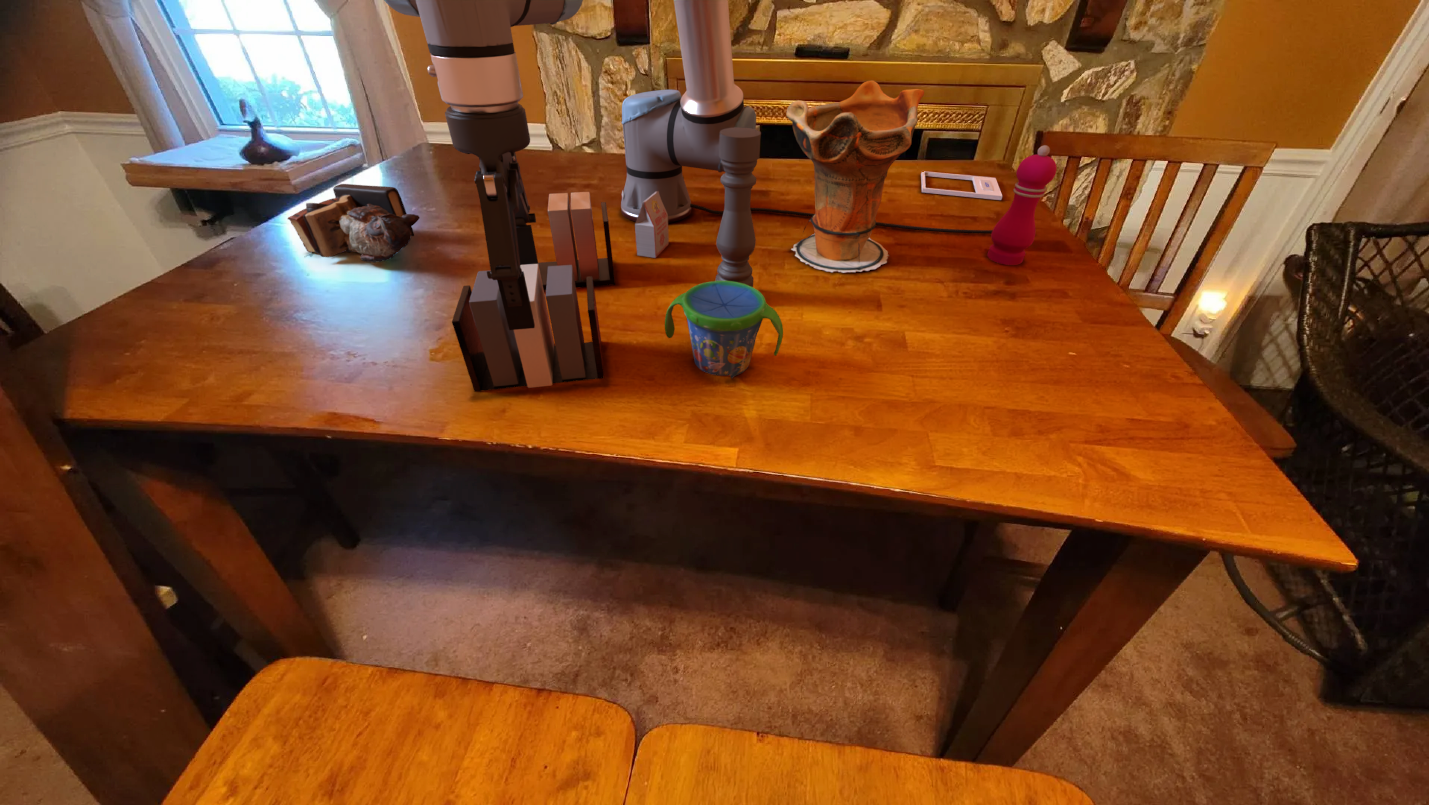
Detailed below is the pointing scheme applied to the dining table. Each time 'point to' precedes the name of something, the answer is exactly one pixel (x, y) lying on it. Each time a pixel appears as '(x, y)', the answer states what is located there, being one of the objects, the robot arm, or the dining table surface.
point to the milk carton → (652, 227)
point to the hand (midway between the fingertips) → (526, 299)
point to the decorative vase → (851, 171)
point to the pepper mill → (1022, 209)
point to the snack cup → (723, 324)
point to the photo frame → (982, 185)
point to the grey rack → (481, 374)
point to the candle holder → (737, 203)
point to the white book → (536, 334)
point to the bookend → (356, 223)
